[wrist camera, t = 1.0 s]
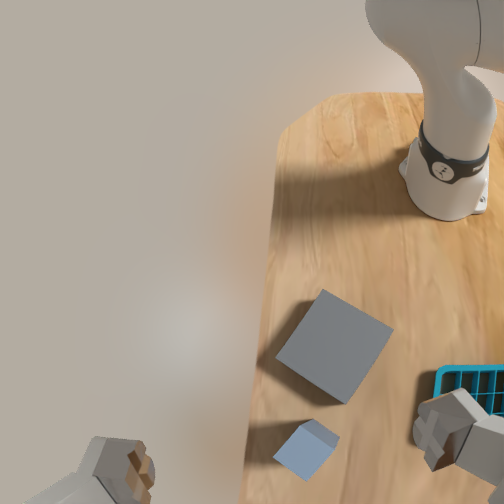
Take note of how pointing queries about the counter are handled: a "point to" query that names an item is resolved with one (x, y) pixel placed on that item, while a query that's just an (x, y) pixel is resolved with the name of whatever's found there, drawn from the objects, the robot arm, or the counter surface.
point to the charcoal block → (335, 346)
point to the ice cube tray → (473, 382)
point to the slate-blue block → (307, 449)
